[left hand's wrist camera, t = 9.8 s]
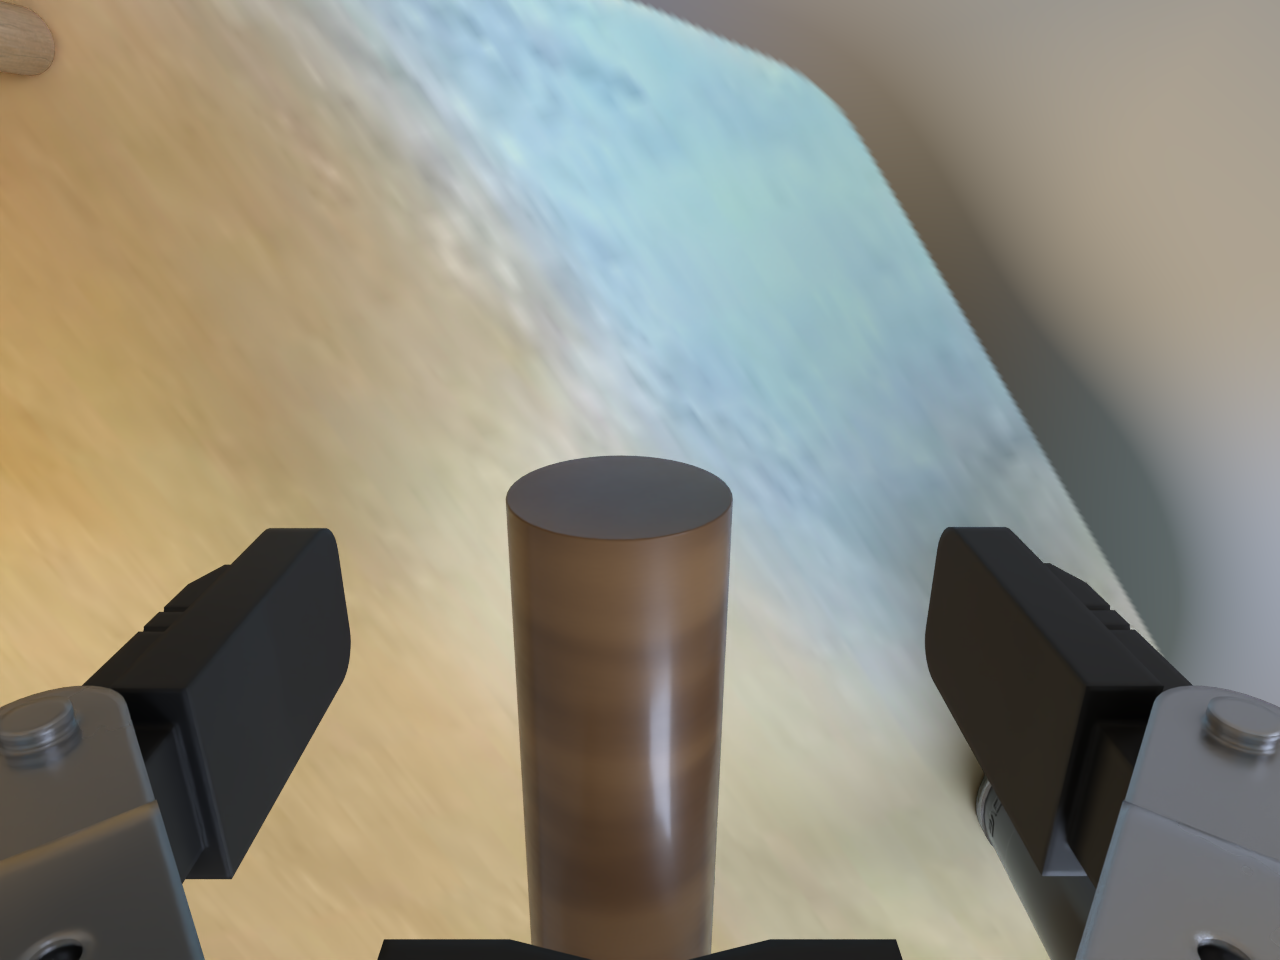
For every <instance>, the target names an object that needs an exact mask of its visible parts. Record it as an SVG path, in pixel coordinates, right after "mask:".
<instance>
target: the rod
mask: <svg viewBox="0 0 1280 960" xmlns="http://www.w3.org/2000/svg"><path fill="white" fill-rule="evenodd" d="M732 505H733V498H732V493H731V491H730V489H729V487H728V486H727V485H726V483H725V482H724V481H722V480H721V479H720V478H719V477H717V476H715V475H714V474H712V473H710V472H708V471H706V470H703V469H701V468H698V467H695V466H692V465H689V464H685V463H681V462H677V461H672V460H667V459H661V458H652V457H641V456H600V457H589V458H581V459H574V460H569V461H564V462H559V463H556V464H552V465H548V466H545V467H543V468H540V469H537V470H535V471H533V472H530V473H528V474H527V475H525V476H523V477H521V478H520V479H519V480H517V481H516V482H515V483H514V484H513V485H512V486H511V487H510V489H509V491H508V492H507V496H506V511H507V529H508V546H509V563H510V581H511V598H512V615H513V632H514V650H515V667H516V684H517V702H518V719H519V736H520V754H521V771H522V788H523V806H524V823H525V840H526V857H527V875H528V892H529V909H530V927H531V944H532V945H534V946H538V947H542V948H547V949H551V950H555V951H559V952H563V953H567V954H571V955H575V956H579V957H583V958H587V959H591V960H689V959H693V958H697V957H701V956H705V955H709V954H711V942H712V921H713V901H714V880H715V859H716V838H717V817H718V796H719V776H720V755H721V734H722V713H723V692H724V671H725V651H726V630H727V609H728V588H729V567H730V546H731V526H732Z"/></svg>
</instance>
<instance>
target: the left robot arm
mask: <svg viewBox="0 0 1280 960" xmlns="http://www.w3.org/2000/svg"><path fill="white" fill-rule="evenodd" d="M350 647H351V639H350V628H349V622H348V615H347V608H346V601H345V595H344V588H343V581H342V574H341V568H340V561H339V554H338V548H337V543H336V540H335V537H334V535H333V534H332V532H331V531H330V530H329V529H327V528H269V529H266V530H265V531H264V532H263V533H262V534H261V535H260V536H259V537H258V538H257V539H256V540H255V541H254V542H253V543H252V544H251V545H250V546H249V547H248V548H247V549H246V550H245V551H244V552H243V553H242V554H241V555H240V556H239V557H238V558H237V559H236V560H235V561H234V562H233V563H232V564H231V565H223V566H222V567H220V568H218V569H216V570H214V571H212V572H210V573H208V574H207V575H205V576H203V577H201V578H199V579H197V580H195V581H193V582H192V583H190V584H188V585H187V586H186V587H185V588H184V589H183V590H182V591H181V592H180V593H179V594H177V595H176V596H175V597H174V598H173V599H172V600H171V601H170V602H169V603H168V604H167V605H166V606H165V607H164V612H159V613H158V614H157V615H155V616H154V617H153V618H152V619H151V620H150V621H149V622H148V623H147V624H146V625H145V626H144V631H143V632H138V633H137V634H136V635H135V636H133V637H132V638H131V639H130V640H129V641H128V642H127V643H126V644H125V645H124V646H123V647H122V648H121V649H120V650H119V651H118V652H117V653H116V654H115V655H114V656H113V657H111V658H110V659H109V660H108V661H107V662H106V663H105V664H104V665H103V666H102V667H101V668H100V669H99V670H98V671H97V672H96V673H95V674H94V675H93V676H92V677H91V678H89V679H88V680H87V681H86V682H85V683H84V684H83V685H82V686H72V687H63V688H58V689H53V690H48V691H45V692H41V693H37V694H33V695H31V696H28V697H25V698H22V699H19V700H16V701H14V702H12V703H9V704H7V705H4V706H2V707H0V960H205V959H204V956H203V952H202V949H201V946H200V942H199V939H198V936H197V932H196V929H195V926H194V922H193V919H192V916H191V912H190V909H189V906H188V902H187V899H186V896H185V892H184V889H183V886H182V883H183V882H184V880H185V879H232V878H233V876H234V874H235V872H236V870H237V869H238V867H239V865H240V863H241V862H242V860H243V858H244V856H245V854H246V853H247V851H248V849H249V847H250V846H251V844H252V842H253V840H254V838H255V837H256V835H257V833H258V831H259V830H260V828H261V826H262V824H263V822H264V821H265V819H266V817H267V815H268V814H269V812H270V810H271V808H272V806H273V805H274V803H275V801H276V799H277V798H278V796H279V794H280V792H281V790H282V789H283V787H284V785H285V783H286V782H287V780H288V778H289V776H290V774H291V773H292V771H293V769H294V767H295V766H296V764H297V762H298V760H299V758H300V757H301V755H302V753H303V751H304V750H305V748H306V746H307V744H308V742H309V741H310V739H311V737H312V735H313V734H314V732H315V730H316V728H317V726H318V725H319V723H320V721H321V719H322V718H323V716H324V714H325V712H326V711H327V709H328V707H329V705H330V703H331V702H332V700H333V698H334V696H335V695H336V693H337V691H338V689H339V687H340V686H341V684H342V682H343V680H344V678H345V675H346V672H347V668H348V664H349V658H350ZM925 651H926V659H927V664H928V668H929V672H930V675H931V677H932V679H933V681H934V683H935V685H936V687H937V689H938V690H939V692H940V694H941V696H942V698H943V699H944V701H945V703H946V705H947V707H948V708H949V710H950V712H951V714H952V716H953V717H954V719H955V721H956V723H957V725H958V726H959V728H960V730H961V732H962V734H963V735H964V737H965V739H966V741H967V743H968V744H969V746H970V748H971V750H972V752H973V753H974V755H975V757H976V759H977V761H978V762H979V764H980V766H981V768H982V770H983V771H984V773H985V777H984V778H983V780H982V783H981V785H980V788H979V791H978V795H977V802H976V811H977V817H978V820H979V823H980V825H981V827H982V829H983V831H984V833H985V835H986V837H987V839H988V841H989V842H990V844H991V845H992V846H993V847H994V849H995V851H996V853H997V855H998V856H999V858H1000V860H1001V862H1002V864H1003V866H1004V868H1005V870H1006V872H1007V874H1008V876H1009V879H1010V881H1011V883H1012V885H1013V887H1014V889H1015V891H1016V893H1017V894H1018V896H1019V898H1020V900H1021V902H1022V904H1023V906H1024V908H1025V910H1026V912H1027V914H1028V916H1029V918H1030V920H1031V922H1032V924H1033V926H1034V928H1035V930H1036V932H1037V934H1038V936H1039V938H1040V939H1041V941H1042V943H1043V945H1044V947H1045V949H1046V951H1047V953H1048V955H1049V957H1050V959H1051V960H1280V707H1278V706H1276V705H1273V704H1271V703H1268V702H1266V701H1264V700H1261V699H1258V698H1255V697H1252V696H1249V695H1247V694H1243V693H1239V692H1235V691H1232V690H1227V689H1222V688H1216V687H1208V686H1193V685H1192V684H1191V683H1190V682H1189V681H1188V680H1187V679H1186V678H1184V676H1182V675H1181V674H1180V673H1179V672H1178V671H1177V670H1176V669H1175V668H1174V667H1173V666H1172V665H1171V664H1170V663H1169V662H1168V661H1167V660H1166V659H1165V658H1164V657H1163V656H1162V655H1161V654H1160V653H1159V652H1158V651H1157V650H1155V649H1154V648H1153V647H1152V646H1151V645H1150V644H1149V643H1148V642H1147V641H1146V640H1145V639H1144V638H1143V637H1142V636H1141V635H1140V634H1139V633H1138V632H1137V631H1136V630H1130V624H1128V623H1127V622H1126V621H1125V620H1124V619H1123V618H1122V617H1121V616H1120V615H1119V614H1118V613H1117V612H1116V611H1115V610H1110V605H1109V604H1108V603H1107V602H1106V601H1105V600H1104V599H1102V598H1101V597H1100V596H1099V595H1098V594H1097V593H1096V592H1095V591H1094V590H1093V589H1092V588H1091V587H1090V586H1089V585H1088V584H1087V583H1086V582H1084V581H1082V580H1080V579H1078V578H1076V577H1074V576H1072V575H1071V574H1069V573H1067V572H1065V571H1063V570H1061V569H1059V568H1058V567H1056V566H1054V565H1052V564H1050V563H1043V562H1042V561H1041V560H1040V559H1039V558H1038V557H1037V556H1036V555H1035V554H1034V553H1033V552H1032V551H1031V550H1030V549H1029V548H1028V547H1027V546H1026V545H1025V544H1024V543H1023V542H1022V541H1021V540H1020V539H1019V538H1018V537H1017V536H1016V535H1015V534H1014V533H1013V532H1012V531H1011V530H1010V529H1009V528H1006V527H948V528H946V529H945V530H944V531H943V533H942V535H941V537H940V540H939V544H938V549H937V556H936V563H935V570H934V576H933V583H932V590H931V597H930V604H929V611H928V617H927V624H926V632H925ZM378 960H591V959H587V958H583V957H579V956H575V955H571V954H567V953H563V952H559V951H555V950H551V949H547V948H542V947H538V946H534V945H530V944H526V943H522V942H518V941H514V940H510V939H384V941H383V944H382V947H381V950H380V953H379V957H378ZM689 960H902V957H901V953H900V950H899V947H898V944H897V941H896V939H770V940H766V941H762V942H758V943H754V944H750V945H746V946H742V947H738V948H733V949H729V950H725V951H721V952H717V953H713V954H709V955H705V956H701V957H697V958H693V959H689Z"/></svg>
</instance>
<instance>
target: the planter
mask: <svg viewBox="0 0 1280 960" xmlns="http://www.w3.org/2000/svg"><path fill="white" fill-rule="evenodd" d="M54 54H55V45H54V40H53V36H52V34H51V32H50V29H49V28H48V26H47V25H46V23H45V22H44V21H43V20H42V19H41V18H40V17H39V16H38V15H37V14H36V13H35V12H33V11H31V10H30V9H28V8H25V7H23V6H19V5H14V4H10V3H6V2H2V1H0V72H7V73H14V74H22V75H37V74H40V73H42V72H44V71H45V70H47V69H48V68H49V66H50V65H51V63H52V61H53V58H54Z"/></svg>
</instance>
